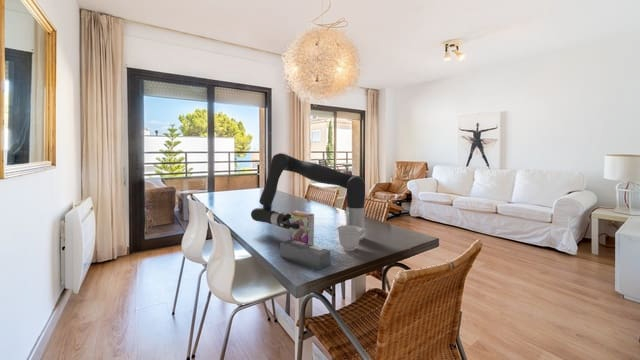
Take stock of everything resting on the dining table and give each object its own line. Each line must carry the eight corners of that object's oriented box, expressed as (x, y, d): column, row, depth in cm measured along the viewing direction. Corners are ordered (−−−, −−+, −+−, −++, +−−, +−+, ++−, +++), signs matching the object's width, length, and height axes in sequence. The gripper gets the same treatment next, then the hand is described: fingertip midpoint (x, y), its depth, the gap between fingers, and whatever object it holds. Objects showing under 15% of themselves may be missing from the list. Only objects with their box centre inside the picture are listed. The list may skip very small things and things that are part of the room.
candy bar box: (289, 244, 138) (289, 212, 136) (296, 242, 142) (296, 210, 140) (307, 249, 132) (308, 215, 130) (314, 246, 136) (314, 213, 134)
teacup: (371, 252, 130) (372, 230, 129) (341, 254, 125) (342, 233, 124) (360, 243, 141) (361, 224, 140) (332, 245, 137) (333, 226, 136)
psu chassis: (291, 251, 128) (291, 238, 128) (330, 264, 115) (330, 249, 114) (280, 256, 123) (280, 242, 122) (319, 270, 109) (319, 254, 109)
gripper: (271, 214, 139) (295, 220, 129) (291, 210, 150) (314, 215, 140) (271, 229, 139) (294, 236, 129) (291, 224, 151) (314, 229, 141)
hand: (305, 225), depth 135 cm, fingers open, 8 cm apart
